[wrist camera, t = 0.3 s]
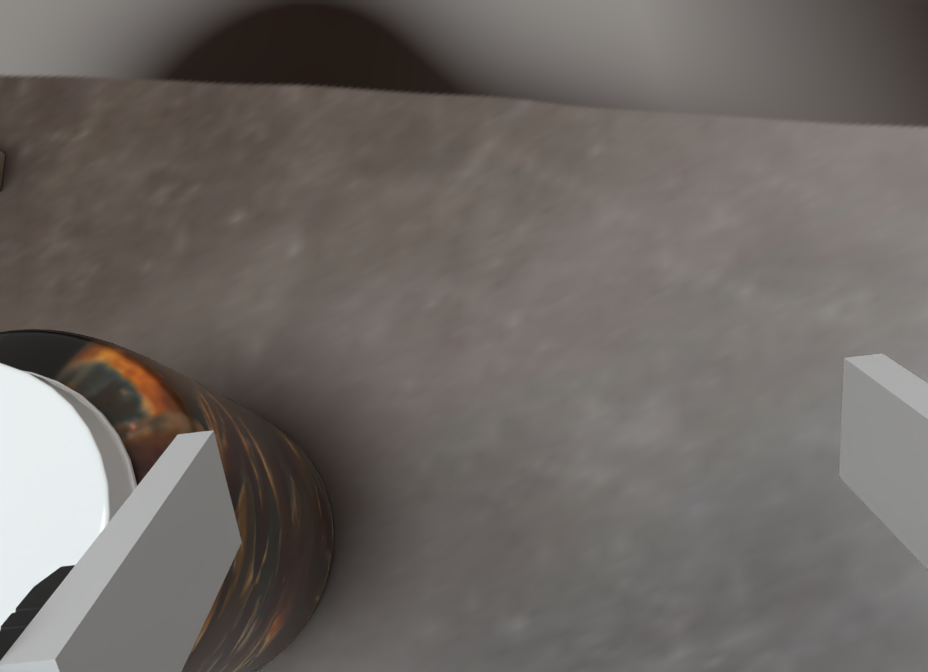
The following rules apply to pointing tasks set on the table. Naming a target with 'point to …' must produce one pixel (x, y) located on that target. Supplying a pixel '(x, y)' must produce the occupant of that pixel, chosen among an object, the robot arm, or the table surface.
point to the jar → (126, 464)
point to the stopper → (1, 166)
